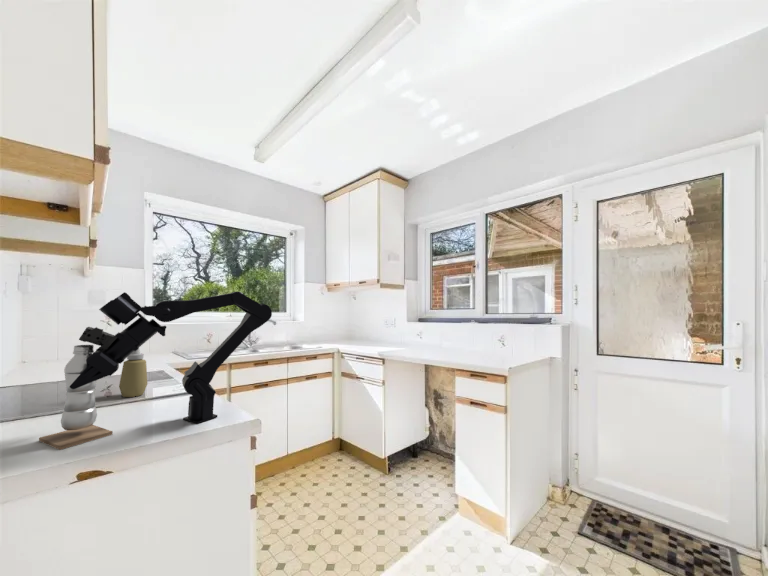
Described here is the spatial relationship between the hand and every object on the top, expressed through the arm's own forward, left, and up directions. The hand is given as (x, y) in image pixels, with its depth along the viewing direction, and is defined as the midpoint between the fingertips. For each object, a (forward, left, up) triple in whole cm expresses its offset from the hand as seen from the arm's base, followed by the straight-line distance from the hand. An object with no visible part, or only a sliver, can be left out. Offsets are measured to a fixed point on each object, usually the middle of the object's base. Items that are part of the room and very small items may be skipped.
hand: (73, 385), depth 80 cm
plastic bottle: (-1, -1, -11) cm, 11 cm away
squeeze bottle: (+27, -28, -13) cm, 41 cm away
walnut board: (-1, -1, -13) cm, 13 cm away
